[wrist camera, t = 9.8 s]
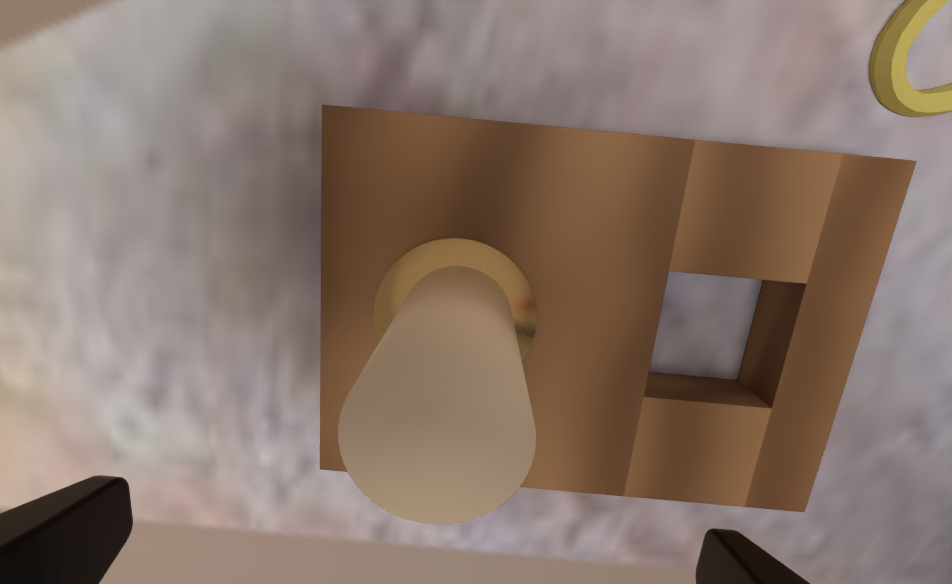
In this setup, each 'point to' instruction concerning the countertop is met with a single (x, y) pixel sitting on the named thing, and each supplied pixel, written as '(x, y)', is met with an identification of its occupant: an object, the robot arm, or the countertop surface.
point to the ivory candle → (442, 404)
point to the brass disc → (457, 254)
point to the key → (892, 63)
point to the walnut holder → (622, 287)
